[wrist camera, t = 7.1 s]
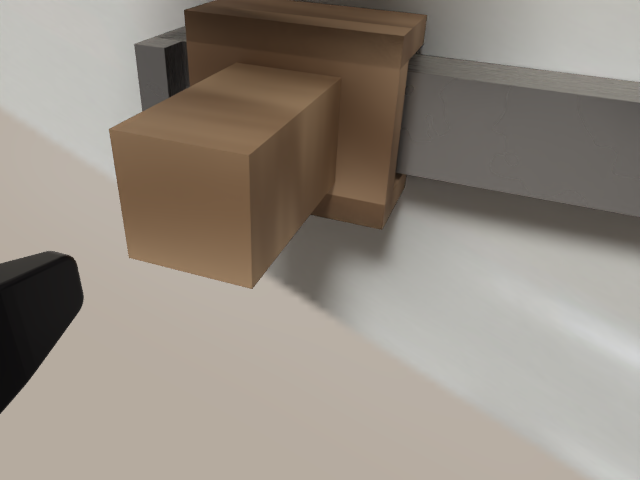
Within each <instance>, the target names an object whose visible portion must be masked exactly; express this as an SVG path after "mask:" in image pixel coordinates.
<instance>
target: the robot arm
mask: <svg viewBox="0 0 640 480" xmlns="http://www.w3.org/2000/svg"><path fill="white" fill-rule="evenodd" d="M83 298H84V296H83V290H82V286H81V281H80V276H79V272H78V267H77V263H76V261H75V260H74V258H73V257H71V256H69V255H66V254H62V253H59V252H55V251H47V252H43V253H39V254H35V255H31V256H28V257H24V258H20V259H16V260H12V261H8V262H5V263H1V264H0V414H1V412H2V411H3V410H4V409H5V408H6V407H7V406H8V404H9V403H10V402H11V401H12V400H13V399H14V398H15V396H16V395H17V394H18V393H19V392H20V391H21V389H22V388H23V387H24V386H25V385H26V383H27V382H28V381H29V380H30V378H31V377H32V376H33V374H34V373H35V372H36V370H37V369H38V368H39V366H40V365H41V363H42V362H43V361H44V359H45V358H46V357H47V355H48V354H49V352H50V351H51V350H52V348H53V347H54V346H55V344H56V343H57V341H58V340H59V339H60V337H61V336H62V334H63V333H64V332H65V330H66V329H67V327H68V326H69V325H70V323H71V322H72V320H73V319H74V318H75V316H76V315H77V313H78V312H79V311H80V309H81V307H82V304H83Z"/></svg>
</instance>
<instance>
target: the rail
mask: <svg viewBox="0 0 640 480" xmlns="http://www.w3.org/2000/svg"><path fill="white" fill-rule="evenodd" d="M134 46H135V54H136V62H137V70H138V78H139V87H140V95H141V103H142V111H145V110H147V109H148V108H150V107H152V106H154V105H156V104H158V103H160V102H162V101H164V100H166V99H168V98H170V97H171V96H173V95H175V94H177V93H179V92H181V91H183V90H185V89H187V88H189V87H190V81H189V68H188V54H187V41H186V28H185V26H184V27H181V28H178V29H175V30H173V31H170V32H167V33H164V34H161V35H158V36H156V37H153V38H150V39H147V40H144V41H142V42H139V43H136V44H134ZM395 173H401V174H406V175H412V176H417V177H423V178H428V179H434V180H439V181H445V182H450V183H456V184H461V185H466V186H472V187H477V188H483V189H488V190H494V191H499V192H505V193H510V194H516V195H521V196H527V197H532V198H538V199H543V200H549V201H554V202H560V203H565V204H570V205H576V206H581V207H587V208H592V209H598V210H603V211H609V212H614V213H620V214H625V215H631V216H636V217H640V82H633V81H625V80H617V79H609V78H601V77H593V76H585V75H577V74H570V73H562V72H554V71H546V70H538V69H530V68H522V67H514V66H506V65H498V64H490V63H482V62H475V61H467V60H459V59H451V58H443V57H435V56H427V55H419V54H414V55H413V56H412V57H411V58H410V59H409V63H408V71H407V79H406V88H405V96H404V104H403V113H402V121H401V129H400V138H399V146H398V154H397V163H396V171H395Z"/></svg>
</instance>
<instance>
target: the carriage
mask: <svg viewBox="0 0 640 480" xmlns="http://www.w3.org/2000/svg"><path fill="white" fill-rule="evenodd" d="M184 15H185V28H186V41H187V54H188V68H189V81H190V87H189V88H187V89H185V90H183V91H181V92H179V93H177V94H175V95H173V96H171V97H170V98H168V99H166V100H164V101H162V102H160V103H158V104H156V105H154V106H152V107H150V108H148V109H147V110H145V111H143V112H141V113H139V114H137V115H135V116H133V117H131V118H129V119H127V120H125V121H124V122H122V123H120V124H118V125H116V126H114V127H112V128H110V129H109V133H110V139H111V145H112V152H113V158H114V165H115V171H116V177H117V184H118V190H119V197H120V203H121V210H122V216H123V222H124V229H125V235H126V241H127V248H128V254H129V258H133V259H136V260H140V261H144V262H148V263H152V264H156V265H160V266H164V267H168V268H172V269H176V270H180V271H183V272H188V273H191V274H195V275H199V276H203V277H207V278H211V279H215V280H219V281H223V282H227V283H231V284H235V285H239V286H242V287H247V288H250V289H253V287H254V286H255V285H256V283H257V282H258V281H259V280H260V278H261V277H262V276H263V274H264V273H265V272H266V271H267V269H268V268H269V267H270V265H271V264H272V263H273V262H274V260H275V259H276V258H277V257H278V255H279V254H280V253H281V251H282V250H283V249H284V248H285V246H286V245H287V244H288V242H289V241H290V240H291V239H292V237H293V236H294V235H295V233H296V232H297V231H298V230H299V228H300V227H301V226H302V224H303V223H304V222H305V221H306V219H307V218H308V217H309V215H315V216H319V217H324V218H329V219H334V220H338V221H343V222H348V223H353V224H357V225H362V226H367V227H372V228H376V229H381V230H382V229H383V227H384V225H385V223H386V221H387V220H388V218H389V216H390V214H391V212H392V210H393V208H394V206H395V205H396V203H397V201H398V199H399V197H400V195H401V193H402V191H403V189H404V188H405V181H406V174H401V173H395V171H396V163H397V154H398V146H399V138H400V129H401V121H402V113H403V104H404V96H405V88H406V79H407V71H408V63H409V59H410V58H411V57H412V56H413V55H414V54H415V53H416V52H417V51H418V50H419V48H420V47H421V46H422V45H423V44H424V36H425V28H426V21H427V15H423V14H413V13H404V12H395V11H385V10H376V9H367V8H358V7H348V6H339V5H330V4H320V3H311V2H302V1H293V0H215V1H212V2H209V3H205V4H202V5H199V6H196V7H192V8H189V9H186V10H184Z"/></svg>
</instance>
